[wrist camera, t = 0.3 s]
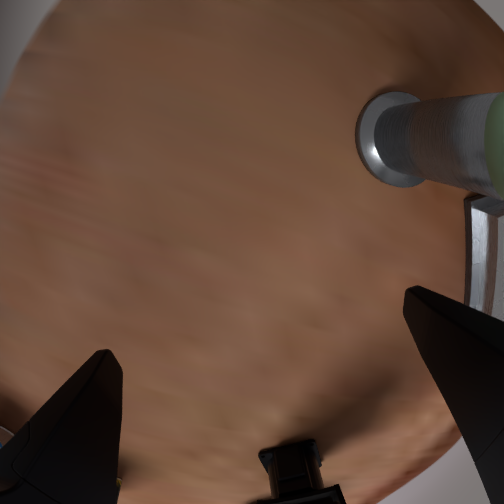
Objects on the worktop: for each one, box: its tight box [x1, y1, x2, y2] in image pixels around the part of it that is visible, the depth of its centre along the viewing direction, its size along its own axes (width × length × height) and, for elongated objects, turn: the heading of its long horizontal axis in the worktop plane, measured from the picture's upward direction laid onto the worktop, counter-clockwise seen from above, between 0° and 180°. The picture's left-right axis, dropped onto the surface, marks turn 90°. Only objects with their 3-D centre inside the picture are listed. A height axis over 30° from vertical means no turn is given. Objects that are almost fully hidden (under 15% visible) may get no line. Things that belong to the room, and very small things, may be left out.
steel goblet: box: [355, 92, 504, 201], centre depth 14 cm, size 7×7×14 cm
